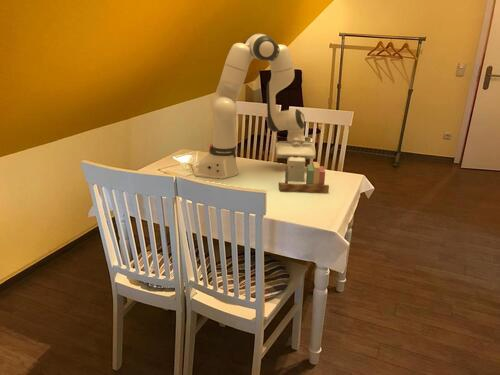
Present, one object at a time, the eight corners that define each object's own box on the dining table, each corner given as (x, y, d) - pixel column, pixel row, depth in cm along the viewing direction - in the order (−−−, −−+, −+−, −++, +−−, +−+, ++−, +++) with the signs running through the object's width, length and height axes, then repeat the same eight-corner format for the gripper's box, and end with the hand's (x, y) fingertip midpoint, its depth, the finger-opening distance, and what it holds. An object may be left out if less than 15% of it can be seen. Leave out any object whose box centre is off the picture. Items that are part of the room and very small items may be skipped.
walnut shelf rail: (279, 191, 193) (280, 184, 192) (279, 190, 194) (280, 183, 193) (328, 193, 192) (329, 186, 190) (328, 192, 193) (328, 184, 192)
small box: (303, 177, 210) (305, 157, 207) (304, 181, 205) (305, 161, 201) (287, 177, 211) (288, 156, 207) (287, 181, 206) (288, 160, 202)
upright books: (307, 191, 194) (308, 167, 189) (305, 184, 201) (307, 161, 197) (323, 191, 193) (325, 167, 189) (321, 185, 201) (323, 162, 197)
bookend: (278, 190, 194) (279, 171, 191) (278, 183, 202) (279, 165, 199) (287, 190, 194) (288, 172, 191) (287, 184, 202) (287, 166, 199)
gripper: (275, 137, 217) (275, 161, 211) (316, 139, 216) (316, 163, 210) (275, 143, 222) (274, 167, 217) (314, 145, 221) (314, 168, 216)
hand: (295, 165), depth 213 cm, fingers closed
